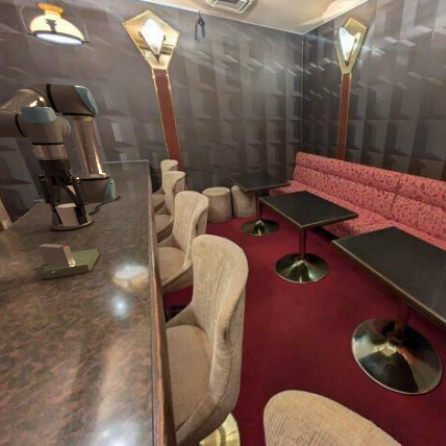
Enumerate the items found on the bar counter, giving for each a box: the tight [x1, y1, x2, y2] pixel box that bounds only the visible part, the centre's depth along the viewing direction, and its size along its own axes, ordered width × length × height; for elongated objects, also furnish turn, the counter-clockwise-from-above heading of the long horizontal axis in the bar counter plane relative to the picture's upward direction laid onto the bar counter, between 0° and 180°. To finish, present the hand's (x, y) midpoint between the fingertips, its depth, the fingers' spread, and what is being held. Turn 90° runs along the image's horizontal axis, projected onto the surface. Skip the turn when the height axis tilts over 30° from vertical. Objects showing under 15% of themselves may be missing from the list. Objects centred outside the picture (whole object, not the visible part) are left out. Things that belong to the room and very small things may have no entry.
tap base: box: [34, 248, 99, 280], centre depth 88 cm, size 16×15×3 cm
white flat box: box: [38, 243, 75, 266], centre depth 85 cm, size 9×2×7 cm, turn 85°
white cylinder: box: [55, 203, 79, 226], centre depth 88 cm, size 7×7×7 cm
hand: (74, 222), depth 89 cm, fingers closed on white cylinder, 7 cm apart
